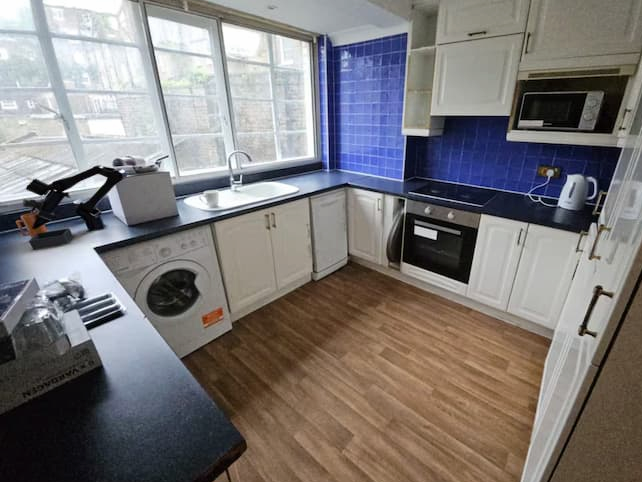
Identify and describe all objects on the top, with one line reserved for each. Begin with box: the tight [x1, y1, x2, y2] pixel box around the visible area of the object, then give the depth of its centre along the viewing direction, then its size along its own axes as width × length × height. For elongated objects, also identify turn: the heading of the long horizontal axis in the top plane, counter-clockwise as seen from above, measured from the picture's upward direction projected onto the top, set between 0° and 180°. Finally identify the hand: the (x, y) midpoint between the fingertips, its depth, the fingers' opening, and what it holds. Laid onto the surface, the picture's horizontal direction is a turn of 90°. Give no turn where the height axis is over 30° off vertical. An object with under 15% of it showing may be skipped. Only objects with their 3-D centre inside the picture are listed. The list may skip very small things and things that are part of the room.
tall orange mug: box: [15, 212, 49, 238], centre depth 146 cm, size 9×6×13 cm
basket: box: [28, 227, 74, 251], centre depth 144 cm, size 12×11×5 cm
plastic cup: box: [73, 197, 99, 210], centre depth 174 cm, size 11×11×12 cm
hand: (31, 227), depth 146 cm, fingers closed on tall orange mug, 6 cm apart
